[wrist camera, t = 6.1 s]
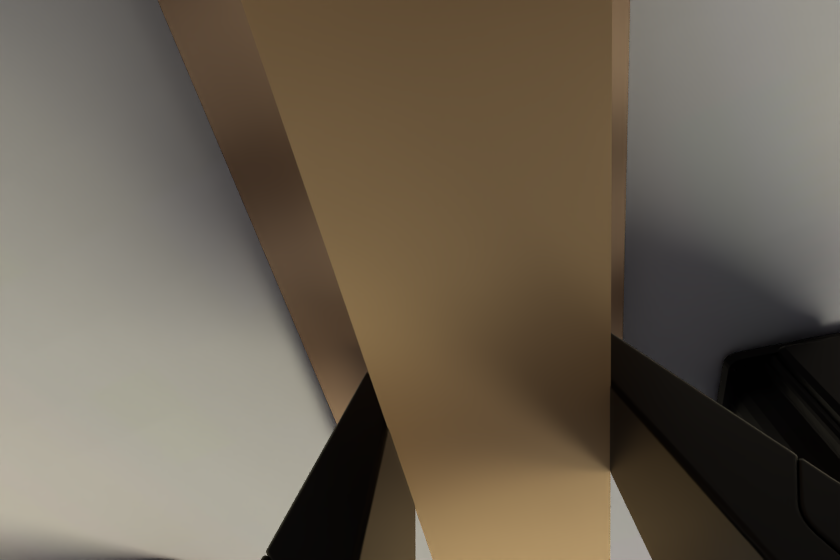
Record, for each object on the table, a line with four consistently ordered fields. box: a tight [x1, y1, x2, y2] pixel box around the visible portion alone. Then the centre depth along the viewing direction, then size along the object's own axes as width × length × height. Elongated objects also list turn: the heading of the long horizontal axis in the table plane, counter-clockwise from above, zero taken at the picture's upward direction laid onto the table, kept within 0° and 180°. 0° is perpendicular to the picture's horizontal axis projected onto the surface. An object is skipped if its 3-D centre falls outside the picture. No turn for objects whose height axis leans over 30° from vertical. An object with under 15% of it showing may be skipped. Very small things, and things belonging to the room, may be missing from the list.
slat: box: [241, 0, 612, 560], centre depth 9 cm, size 22×3×3 cm, turn 11°
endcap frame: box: [158, 0, 630, 424], centre depth 16 cm, size 26×12×4 cm, turn 11°
